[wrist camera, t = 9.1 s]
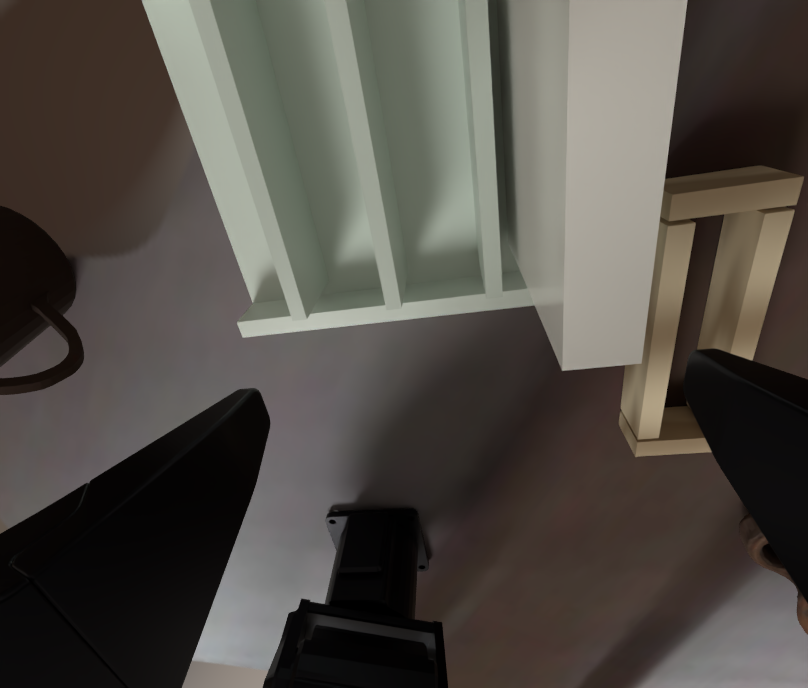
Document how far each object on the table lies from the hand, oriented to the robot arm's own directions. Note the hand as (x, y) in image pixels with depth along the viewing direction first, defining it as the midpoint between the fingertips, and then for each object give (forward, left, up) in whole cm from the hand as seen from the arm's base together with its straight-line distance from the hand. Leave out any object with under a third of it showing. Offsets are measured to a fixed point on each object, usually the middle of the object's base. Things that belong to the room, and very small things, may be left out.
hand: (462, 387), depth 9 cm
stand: (-6, -11, -12) cm, 17 cm away
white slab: (+4, -3, -11) cm, 13 cm away
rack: (+4, +2, -12) cm, 13 cm away
